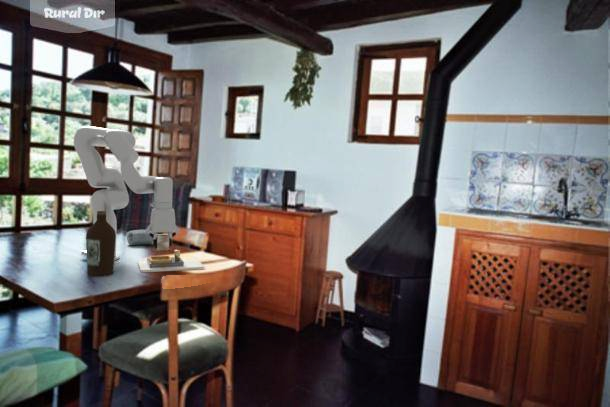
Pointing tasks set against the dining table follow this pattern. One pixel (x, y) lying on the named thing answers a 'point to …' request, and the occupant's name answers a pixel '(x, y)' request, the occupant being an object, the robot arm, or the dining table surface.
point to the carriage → (165, 260)
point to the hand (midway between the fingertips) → (162, 247)
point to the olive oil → (100, 247)
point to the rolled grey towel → (139, 237)
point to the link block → (162, 242)
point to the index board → (188, 265)
